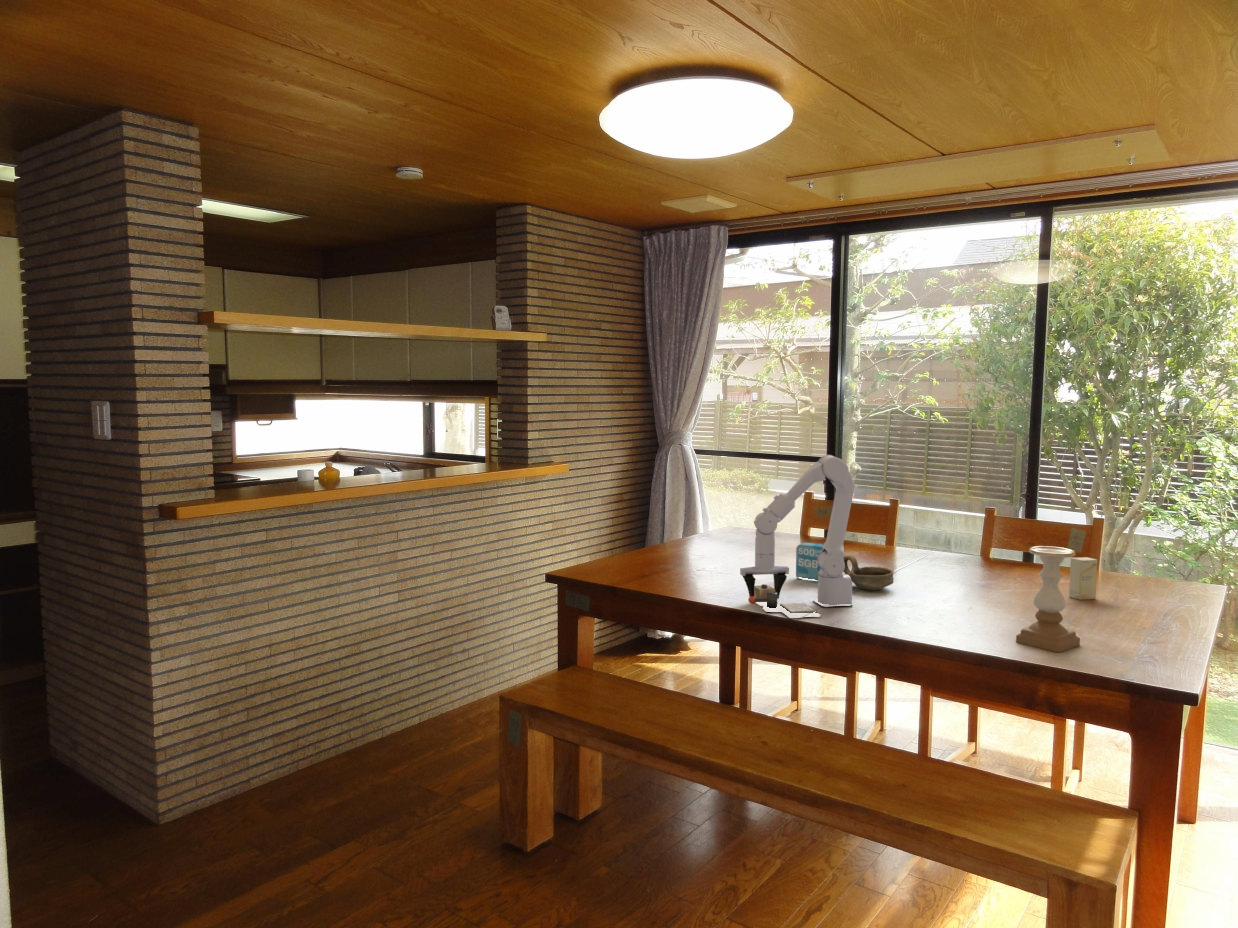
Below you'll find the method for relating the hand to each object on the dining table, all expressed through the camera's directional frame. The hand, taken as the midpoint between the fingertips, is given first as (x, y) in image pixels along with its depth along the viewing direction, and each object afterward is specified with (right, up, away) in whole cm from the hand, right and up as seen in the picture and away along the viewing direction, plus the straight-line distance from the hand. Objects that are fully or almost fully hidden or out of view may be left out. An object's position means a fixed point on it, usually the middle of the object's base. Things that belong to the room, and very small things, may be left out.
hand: (764, 598), depth 246 cm
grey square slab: (+6, -3, -10) cm, 12 cm away
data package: (+22, +1, +30) cm, 38 cm away
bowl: (+36, 0, +19) cm, 41 cm away
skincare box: (+98, -1, +7) cm, 99 cm away
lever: (-2, -1, -8) cm, 9 cm away
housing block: (0, -2, 0) cm, 2 cm away
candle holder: (+64, -5, -39) cm, 75 cm away
